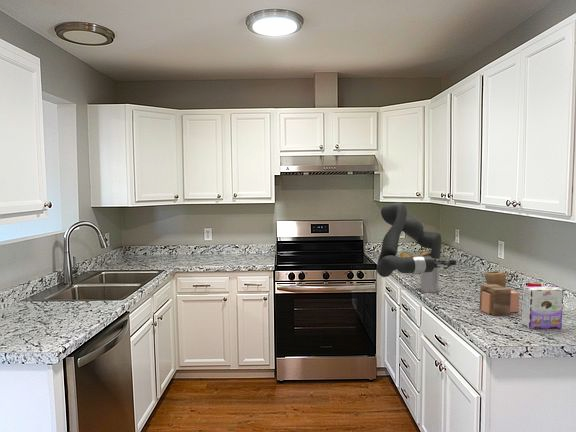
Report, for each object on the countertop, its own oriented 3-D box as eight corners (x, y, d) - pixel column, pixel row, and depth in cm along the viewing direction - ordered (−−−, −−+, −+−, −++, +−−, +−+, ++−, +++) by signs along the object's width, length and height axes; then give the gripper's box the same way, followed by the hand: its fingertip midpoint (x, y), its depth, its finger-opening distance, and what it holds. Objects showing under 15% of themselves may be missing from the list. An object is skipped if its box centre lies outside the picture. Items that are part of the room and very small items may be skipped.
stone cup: (480, 295, 212) (481, 268, 211) (503, 296, 211) (504, 268, 210) (492, 303, 197) (493, 274, 196) (517, 304, 196) (518, 274, 195)
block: (481, 310, 184) (481, 291, 184) (510, 308, 188) (511, 290, 187) (488, 313, 180) (489, 294, 179) (518, 311, 183) (519, 292, 182)
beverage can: (526, 303, 197) (528, 280, 197) (541, 306, 194) (542, 282, 193) (524, 306, 193) (526, 282, 192) (539, 309, 189) (541, 284, 188)
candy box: (551, 323, 168) (554, 285, 167) (561, 328, 162) (564, 289, 161) (520, 323, 167) (522, 285, 166) (529, 328, 162) (531, 289, 160)
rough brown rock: (430, 270, 281) (429, 249, 281) (436, 273, 264) (435, 251, 265) (396, 270, 283) (396, 250, 284) (400, 273, 267) (400, 251, 267)
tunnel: (479, 309, 187) (480, 284, 186) (494, 308, 189) (495, 283, 188) (494, 316, 177) (495, 289, 177) (509, 315, 179) (511, 289, 178)
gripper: (429, 258, 169) (464, 257, 172) (413, 253, 182) (446, 251, 185) (428, 276, 169) (464, 273, 173) (412, 269, 182) (446, 267, 186)
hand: (455, 262), depth 179 cm, fingers closed
